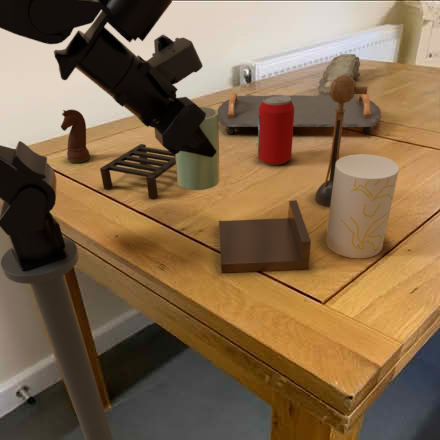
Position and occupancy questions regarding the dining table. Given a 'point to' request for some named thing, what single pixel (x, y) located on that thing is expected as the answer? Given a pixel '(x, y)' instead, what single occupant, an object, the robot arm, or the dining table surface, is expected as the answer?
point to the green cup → (201, 158)
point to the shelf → (265, 243)
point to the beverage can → (275, 129)
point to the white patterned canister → (360, 204)
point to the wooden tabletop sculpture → (337, 130)
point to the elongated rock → (339, 71)
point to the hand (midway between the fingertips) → (205, 146)
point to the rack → (140, 166)
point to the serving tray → (302, 112)
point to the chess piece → (75, 136)
